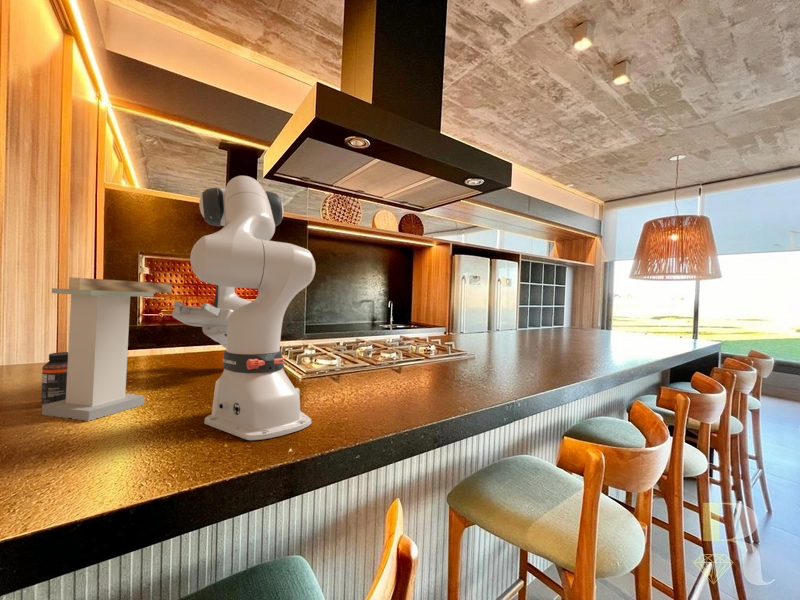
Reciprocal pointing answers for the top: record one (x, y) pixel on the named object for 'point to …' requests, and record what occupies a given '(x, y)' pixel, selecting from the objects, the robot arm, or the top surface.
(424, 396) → the top surface
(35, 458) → the top surface
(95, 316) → the stand
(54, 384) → the supplement bottle
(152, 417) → the top surface
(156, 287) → the baton
